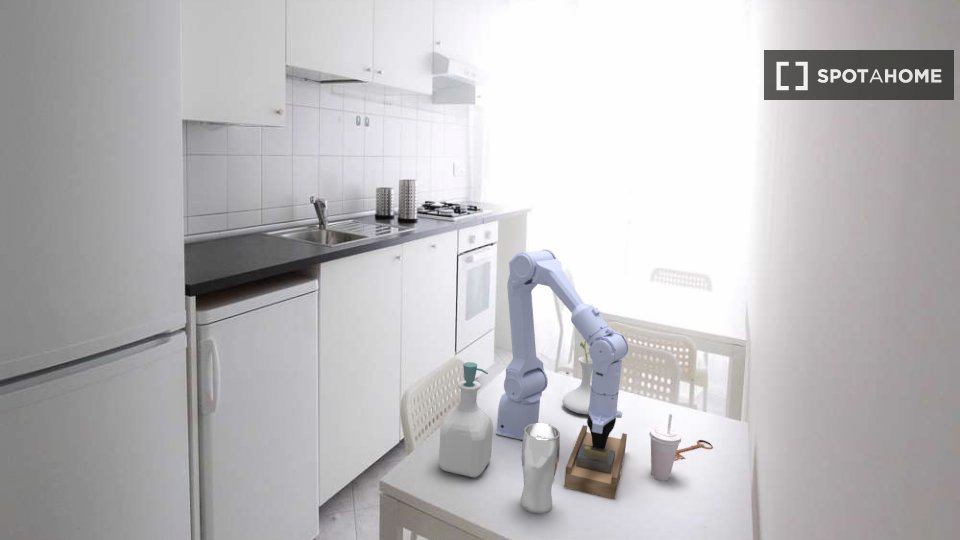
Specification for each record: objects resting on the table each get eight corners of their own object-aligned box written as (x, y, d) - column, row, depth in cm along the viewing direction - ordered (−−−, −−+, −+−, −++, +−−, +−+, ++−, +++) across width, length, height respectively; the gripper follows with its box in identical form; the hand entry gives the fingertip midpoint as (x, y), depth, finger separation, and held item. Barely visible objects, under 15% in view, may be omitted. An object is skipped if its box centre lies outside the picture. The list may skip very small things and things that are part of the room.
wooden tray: (564, 486, 114) (565, 466, 114) (581, 443, 133) (582, 425, 132) (614, 499, 111) (616, 478, 110) (625, 452, 130) (627, 434, 129)
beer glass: (515, 493, 111) (520, 422, 108) (550, 493, 112) (556, 422, 109) (520, 515, 104) (526, 440, 101) (558, 515, 105) (564, 440, 102)
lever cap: (576, 465, 117) (577, 452, 116) (581, 452, 122) (582, 439, 122) (610, 473, 114) (612, 460, 114) (614, 459, 120) (615, 446, 119)
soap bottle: (479, 482, 114) (485, 375, 110) (435, 472, 117) (439, 367, 113) (493, 460, 123) (499, 360, 119) (452, 451, 126) (456, 353, 122)
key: (675, 467, 126) (722, 454, 133) (676, 463, 126) (723, 450, 132) (656, 452, 131) (702, 440, 138) (657, 449, 131) (703, 437, 137)
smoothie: (678, 486, 117) (686, 422, 114) (645, 481, 118) (653, 418, 116) (674, 470, 123) (681, 409, 120) (643, 465, 124) (650, 405, 122)
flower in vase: (609, 419, 146) (618, 326, 141) (564, 417, 146) (573, 323, 141) (599, 399, 159) (608, 312, 154) (558, 396, 159) (566, 310, 154)
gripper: (620, 407, 111) (613, 470, 114) (627, 381, 125) (621, 439, 127) (584, 400, 114) (578, 462, 116) (595, 376, 127) (589, 432, 130)
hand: (598, 450), depth 122 cm, fingers closed
